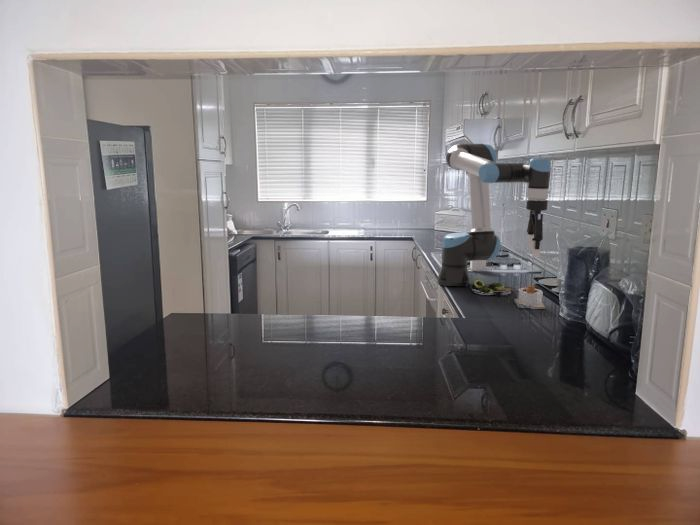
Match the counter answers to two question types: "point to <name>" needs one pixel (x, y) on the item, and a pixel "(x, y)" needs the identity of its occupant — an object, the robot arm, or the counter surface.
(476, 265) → the medicine bottle
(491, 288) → the salad plate
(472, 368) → the counter surface
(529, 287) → the keeper
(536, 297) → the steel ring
